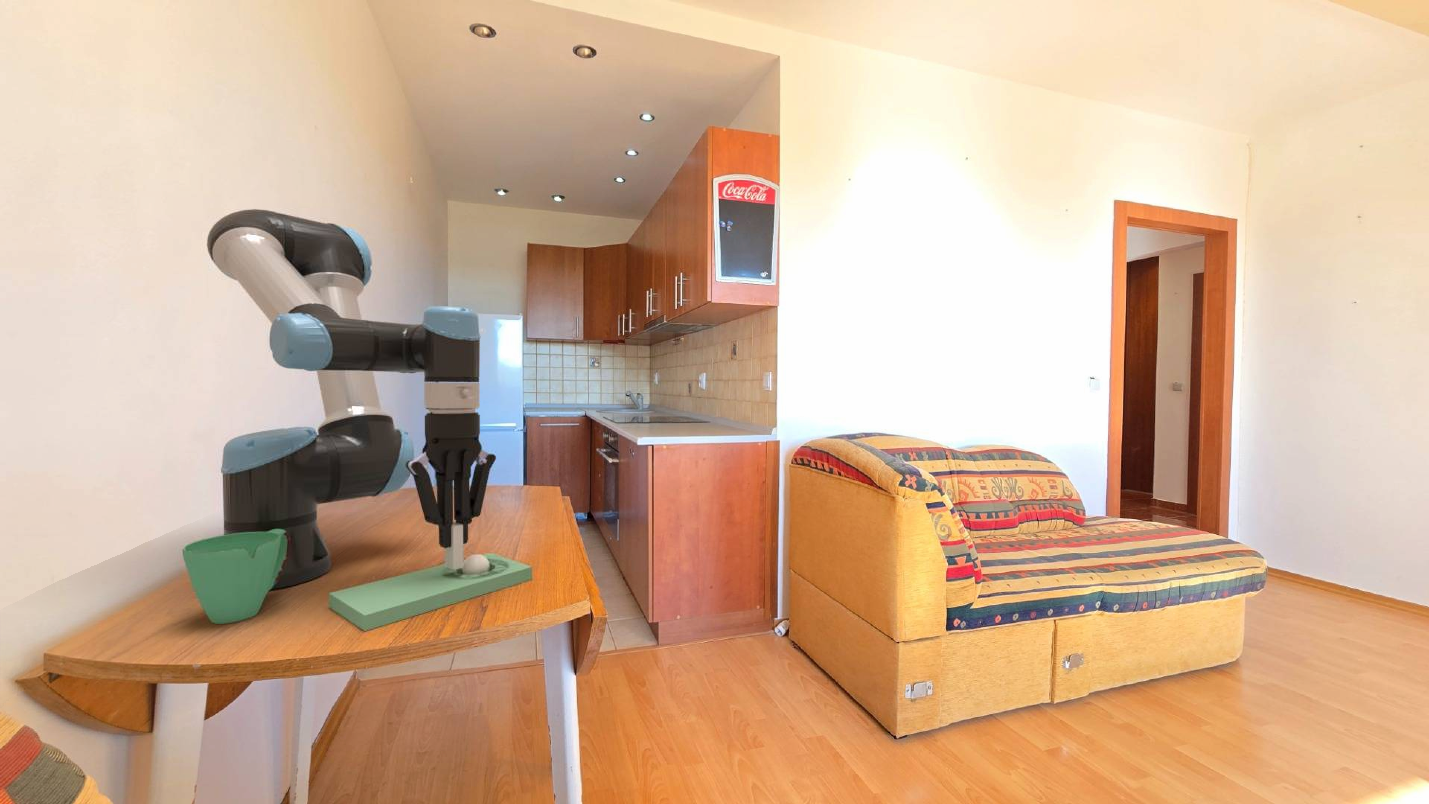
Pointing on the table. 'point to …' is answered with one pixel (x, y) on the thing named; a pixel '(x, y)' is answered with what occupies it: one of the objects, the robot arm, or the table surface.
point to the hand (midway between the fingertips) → (454, 566)
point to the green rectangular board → (423, 591)
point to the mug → (236, 572)
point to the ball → (475, 565)
